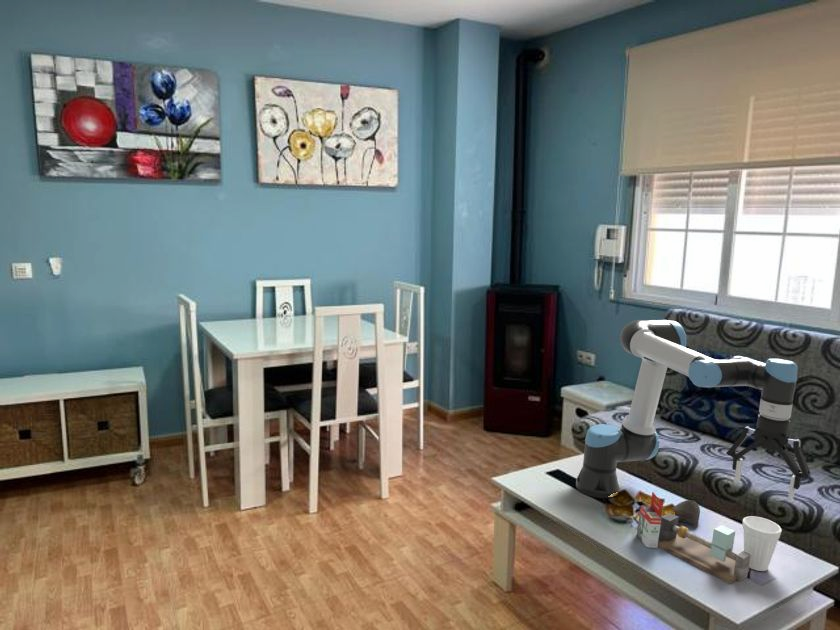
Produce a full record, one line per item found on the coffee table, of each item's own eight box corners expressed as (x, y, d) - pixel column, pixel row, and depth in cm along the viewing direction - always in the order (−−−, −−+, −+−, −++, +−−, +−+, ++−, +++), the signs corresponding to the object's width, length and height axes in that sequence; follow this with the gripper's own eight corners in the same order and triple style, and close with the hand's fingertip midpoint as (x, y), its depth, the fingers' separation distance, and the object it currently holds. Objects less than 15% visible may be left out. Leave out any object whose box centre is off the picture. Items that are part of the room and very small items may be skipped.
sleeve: (709, 555, 176) (713, 528, 174) (717, 551, 179) (721, 524, 177) (723, 562, 173) (727, 535, 171) (731, 557, 175) (735, 530, 174)
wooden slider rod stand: (652, 543, 187) (655, 519, 186) (672, 533, 194) (675, 510, 192) (733, 585, 167) (738, 558, 166) (752, 573, 174) (757, 547, 173)
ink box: (646, 548, 184) (651, 503, 182) (636, 534, 192) (641, 490, 190) (658, 548, 184) (664, 503, 182) (647, 534, 192) (653, 491, 190)
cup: (730, 555, 183) (736, 514, 181) (763, 557, 183) (770, 517, 180) (746, 574, 173) (753, 532, 171) (782, 577, 173) (789, 534, 171)
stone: (677, 537, 199) (704, 524, 195) (661, 512, 203) (688, 499, 198) (685, 530, 207) (711, 518, 202) (670, 506, 210) (696, 494, 206)
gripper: (721, 407, 171) (711, 478, 175) (824, 432, 154) (811, 510, 157) (730, 402, 177) (721, 471, 180) (831, 426, 159) (818, 502, 163)
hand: (763, 490), depth 169 cm, fingers open, 13 cm apart
